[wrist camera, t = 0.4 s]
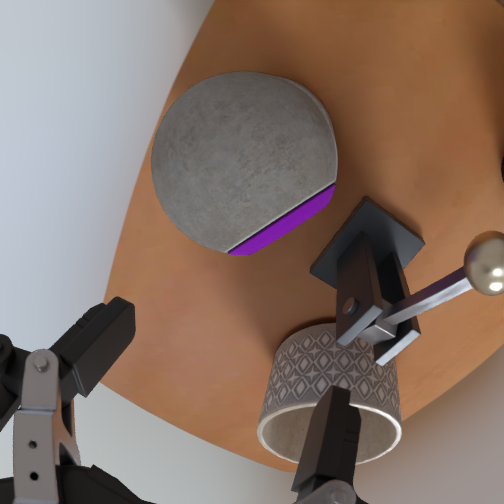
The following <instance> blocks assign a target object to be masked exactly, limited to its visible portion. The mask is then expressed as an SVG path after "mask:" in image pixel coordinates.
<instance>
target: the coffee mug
mask: <svg viewBox="0 0 504 504" xmlns="http://www.w3.org/2000/svg"><path fill="white" fill-rule="evenodd" d="M501 170H502V177H503V181H504V157H503V160H502V169H501Z"/></svg>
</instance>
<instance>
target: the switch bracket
mask: <svg viewBox="0 0 504 504" xmlns="http://www.w3.org/2000/svg"><path fill="white" fill-rule="evenodd" d="M424 245H425V242H424V240H423V238H422V237H420V236H419V235H418V234H416V233H415V232H414V231H412V230H411V229H410V228H409V227H407V226H406V225H405V224H403V223H402V222H401V221H399V220H398V219H397V218H395V217H394V216H393V215H391V214H390V213H389V212H387V211H386V210H384V209H383V208H382V207H380V206H379V205H377V204H376V203H375V202H373V201H372V200H370V199H369V198H368V197H366V196H365V197H364V198H363V200H362V201H361V202H360V204H359V205H358V206H357V208H356V209H355V210H354V212H353V213H352V214H351V215H350V217H349V218H348V219H347V221H346V222H345V223H344V225H343V226H342V227H341V229H340V230H339V231H338V232H337V234H336V235H335V236H334V238H333V239H332V240H331V242H330V243H329V244H328V245H327V247H326V248H325V249H324V250H323V252H322V253H321V254H320V256H319V257H318V258H317V259H316V261H315V262H314V263H313V264H312V266H311V267H310V274H312V275H314V276H315V277H317V278H319V279H320V280H322V281H324V282H325V283H327V284H329V285H330V286H332V287H334V288H335V289H337V295H336V342H338V343H339V344H341V345H343V346H346V345H348V344H349V343H350V342H351V341H352V340H353V339H354V338H355V337H356V336H357V335H359V334H360V333H361V332H362V331H363V330H364V329H365V328H366V327H367V326H368V325H369V324H370V323H371V322H372V321H373V320H374V319H376V318H377V317H378V316H379V315H380V314H381V313H382V312H383V310H384V309H383V303H382V299H384V300H385V301H387V302H388V303H390V304H391V305H393V304H395V303H397V302H399V301H401V300H403V299H405V298H407V297H409V296H411V295H410V291H409V288H408V285H407V281H406V278H405V275H404V272H403V269H404V268H405V267H406V265H407V264H408V263H409V262H410V261H411V260H412V259H413V258H414V256H415V255H416V254H417V253H418V252H419V251H420V250H421V248H422V247H423V246H424ZM420 334H421V332H420V328H419V324H418V320H417V316H414V317H412V318H409V319H407V320H405V321H402V322H400V323H398V327H397V332H396V337H394V338H391V339H389V340H386V341H383V342H381V343H378V344H375V345H373V352H374V362H375V363H377V364H379V365H381V366H383V365H385V364H386V363H387V362H388V361H390V360H391V359H392V358H393V357H395V356H396V355H397V354H398V353H399V352H401V351H402V350H403V349H404V348H405V347H407V346H408V345H409V344H410V343H411V342H412V341H414V340H415V339H416V338H417V337H418V336H419V335H420Z"/></svg>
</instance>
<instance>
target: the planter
mask: <svg viewBox="0 0 504 504" xmlns="http://www.w3.org/2000/svg"><path fill="white" fill-rule="evenodd" d="M331 385H335V386H338V387H342V388H345V389H348V390H350V391H351V397H350V404H349V405H352V406H355V407H358V409H359V412H360V416H361V419H362V422H361V430H360V434H359V435H360V437H359V443H358V452H357V458H356V464H355V465H357V464H362V463H365V462H369V461H372V460H374V459H376V458H379V457H381V456H382V455H384V454H386V453H388V452H389V451H390V450H391V449H393V448H394V447H395V446H396V444H397V443H398V442H399V440H400V438H401V434H402V425H401V411H400V400H399V390H398V380H397V372H396V363H395V357H393V358H392V359H391V360H390V361H388V362H387V363H386V364H385V365H383V366H381V365H379V364H377V363H375V362H374V352H373V345H371V344H370V343H368V342H366V341H364V340H362V339H361V338H359V337H357V336H356V337H355V338H354V339H353V340H352V341H351V342H350V343H349V344H348V345H346V346H343V345H341V344H339V343H338V342H336V323H328V324H320V325H315V326H311V327H308V328H305V329H302V330H300V331H298V332H296V333H294V334H293V335H291V336H290V337H288V338H287V339H286V340H285V341H284V342H283V343H282V344H281V345H280V347H279V348H278V350H277V352H276V354H275V357H274V362H273V366H272V370H271V374H270V378H269V383H268V387H267V391H266V395H265V399H264V403H263V407H262V411H261V415H260V419H259V422H258V426H257V437H258V439H259V441H260V443H261V444H262V445H263V446H264V447H265V448H266V449H267V450H268V451H270V452H271V453H273V454H275V455H276V456H278V457H280V458H283V459H285V460H288V461H291V462H294V463H298V464H299V461H300V457H301V454H302V450H303V446H304V443H305V439H306V435H307V431H308V427H309V423H310V419H311V416H312V413H313V411H314V408H315V406H316V405H317V403H318V402H319V400H320V399H321V398H322V396H323V395H324V394H325V392H326V391H327V389H328V388H329V387H330V386H331Z"/></svg>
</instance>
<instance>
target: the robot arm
mask: <svg viewBox="0 0 504 504" xmlns="http://www.w3.org/2000/svg"><path fill="white" fill-rule="evenodd" d="M135 331H136V327H135V306H134V304H132V303H130V302H128V301H126V300H124V299H122V298H120V297H118V296H117V297H115V298H113V299H112V300H111V301H110V302H109V303H108V304H107V305H105V304H104V303H100V304H98V305H96V306H94V307H92V308H90V309H89V310H88V311H87V312H86V313H85V314H84V315H83V316H82V318H80V319H79V320H78V321H77V322H76V324H74V325H73V326H72V327H71V328H70V329H69V330H68V331H67V332H66V333H65V334H64V335H63V336H62V337H61V338H60V339H59V340H58V341H57V342H56V343H55V344H54V345H53V346H52V347H50V348H49V349H48V350H47V349H39V350H36V351H33V352H29V351H26V350H23V349H20V348H17V347H14V346H13V344H12V342H11V340H10V339H9V337H7V336H6V335H3V334H0V432H1V430H2V429H3V427H4V426H5V425H6V424H7V422H8V421H9V419H10V418H11V417H12V415H13V414H14V426H13V473H14V477H9V478H3V479H0V504H155V503H151V502H147V501H144V500H141V499H140V498H138V497H137V496H136V495H135V494H134V493H132V492H131V491H130V490H129V489H128V488H127V487H126V486H125V485H124V484H122V483H121V482H120V481H119V480H118V479H117V478H115V477H113V476H111V475H110V474H108V473H106V472H105V471H103V470H102V469H100V468H98V467H97V466H95V465H92V467H91V468H89V467H85V466H81V461H80V455H79V450H78V447H77V444H76V436H75V421H74V420H75V419H74V399H73V398H74V397H75V396H76V394H77V393H79V394H81V395H82V396H84V397H85V398H86V397H87V396H88V395H89V393H90V392H91V391H92V390H93V388H94V387H95V386H96V385H97V383H98V382H99V381H100V380H101V378H102V377H103V376H104V375H105V373H106V372H107V371H108V370H109V369H110V367H111V366H112V365H113V364H114V362H115V361H116V360H117V359H118V358H119V356H120V355H121V354H122V353H123V351H124V350H125V349H126V348H127V347H128V345H129V344H130V343H131V341H132V340H133V338H134V335H135ZM350 397H351V391H350V390H348V389H345V388H342V387H338V386H335V385H331V386H330V387H329V388H328V389H327V391H326V392H325V394H324V395H323V396H322V398H321V399H320V400H319V402H318V403H317V405H316V406H315V408H314V411H313V413H312V416H311V419H310V423H309V427H308V431H307V435H306V439H305V443H304V446H303V450H302V454H301V457H300V461H299V465H298V468H297V472H296V475H295V479H294V482H293V485H292V489H291V491H294V492H297V493H298V497H297V500H296V502H295V503H293V504H368V503H366V502H364V501H363V500H361V499H360V498H359V497H358V496H357V494H356V492H355V491H354V487H353V476H354V470H355V464H356V458H357V452H358V443H359V437H360V435H359V434H360V430H361V422H362V419H361V416H360V412H359V409H358V407H355V406H352V405H349V404H350ZM20 405H21V407H20V408H19V409H18V407H19V406H20Z"/></svg>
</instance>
